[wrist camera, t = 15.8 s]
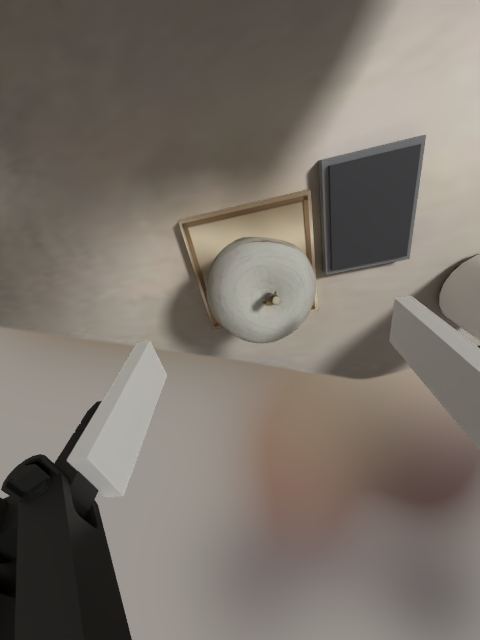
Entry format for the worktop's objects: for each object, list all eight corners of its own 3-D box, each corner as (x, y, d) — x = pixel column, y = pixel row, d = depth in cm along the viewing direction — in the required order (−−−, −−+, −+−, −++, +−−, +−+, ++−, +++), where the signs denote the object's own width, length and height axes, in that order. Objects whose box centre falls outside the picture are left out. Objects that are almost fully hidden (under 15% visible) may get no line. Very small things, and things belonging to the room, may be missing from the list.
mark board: (180, 219, 24) (177, 221, 23) (307, 189, 22) (310, 190, 21) (213, 324, 29) (212, 329, 29) (315, 306, 28) (318, 310, 27)
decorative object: (216, 309, 27) (206, 371, 19) (207, 225, 23) (188, 256, 14) (297, 305, 27) (324, 367, 18) (304, 220, 23) (343, 248, 14)
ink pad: (318, 160, 21) (323, 159, 20) (417, 136, 20) (429, 134, 19) (323, 271, 26) (327, 276, 25) (402, 255, 25) (411, 260, 24)
